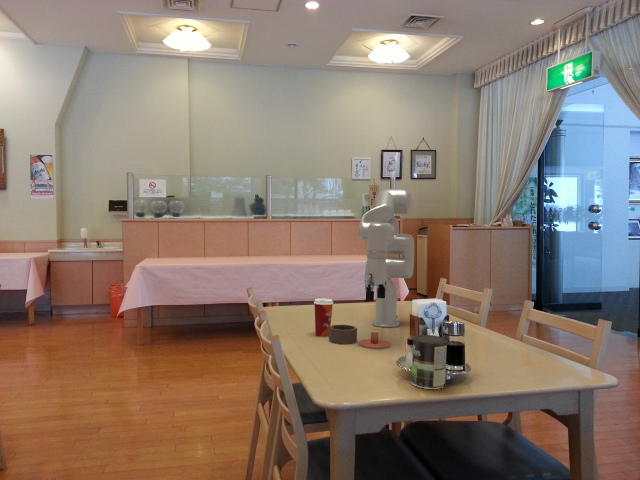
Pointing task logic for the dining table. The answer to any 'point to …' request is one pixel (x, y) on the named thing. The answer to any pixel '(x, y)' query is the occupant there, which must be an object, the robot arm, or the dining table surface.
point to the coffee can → (429, 361)
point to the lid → (374, 342)
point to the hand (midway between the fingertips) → (375, 299)
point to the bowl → (342, 334)
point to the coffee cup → (323, 316)
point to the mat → (377, 349)
